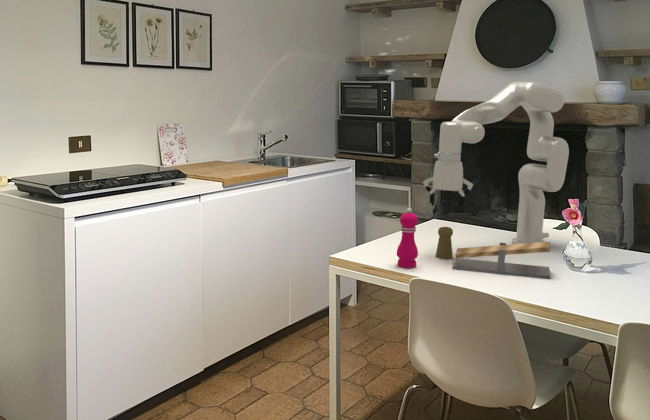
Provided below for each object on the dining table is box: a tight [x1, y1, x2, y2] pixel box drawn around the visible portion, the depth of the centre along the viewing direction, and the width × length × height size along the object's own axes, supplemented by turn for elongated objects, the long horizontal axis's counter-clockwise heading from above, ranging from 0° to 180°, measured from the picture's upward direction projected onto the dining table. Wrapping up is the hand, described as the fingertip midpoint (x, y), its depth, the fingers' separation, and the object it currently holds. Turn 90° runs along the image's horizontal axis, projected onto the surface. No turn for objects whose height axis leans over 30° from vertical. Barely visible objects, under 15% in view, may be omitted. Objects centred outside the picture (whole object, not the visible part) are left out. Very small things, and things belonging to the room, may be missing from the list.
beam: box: [454, 241, 551, 259], centre depth 206 cm, size 30×8×2 cm, turn 72°
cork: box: [435, 226, 454, 260], centre depth 221 cm, size 6×6×11 cm
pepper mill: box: [396, 207, 419, 269], centre depth 208 cm, size 7×7×20 cm
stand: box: [451, 242, 551, 280], centre depth 207 cm, size 31×11×8 cm, turn 73°
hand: (446, 205), depth 218 cm, fingers open, 9 cm apart
